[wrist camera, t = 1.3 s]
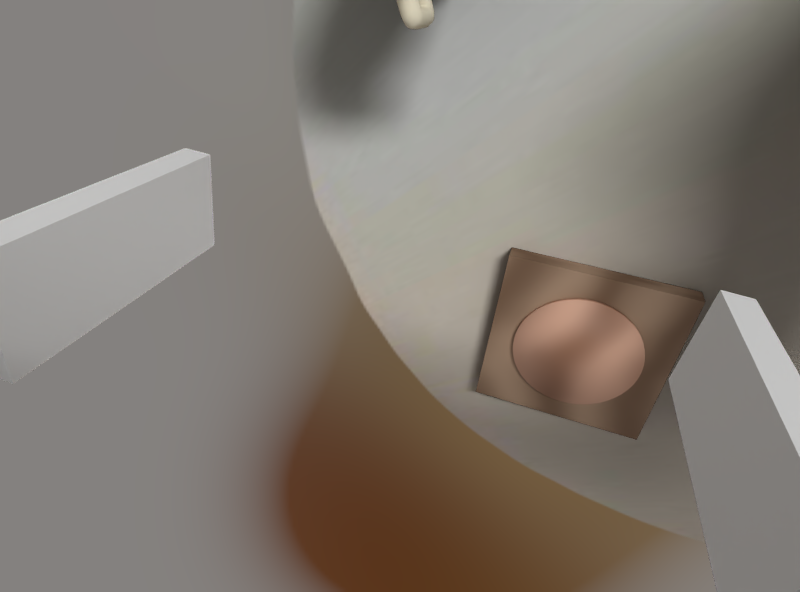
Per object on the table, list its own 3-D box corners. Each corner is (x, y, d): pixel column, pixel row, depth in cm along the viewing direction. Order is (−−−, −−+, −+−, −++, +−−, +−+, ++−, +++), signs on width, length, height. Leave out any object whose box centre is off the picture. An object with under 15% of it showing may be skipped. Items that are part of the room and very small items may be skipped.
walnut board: (702, 292, 38) (706, 304, 36) (635, 427, 45) (636, 442, 44) (511, 247, 41) (508, 257, 39) (478, 381, 48) (474, 394, 47)
